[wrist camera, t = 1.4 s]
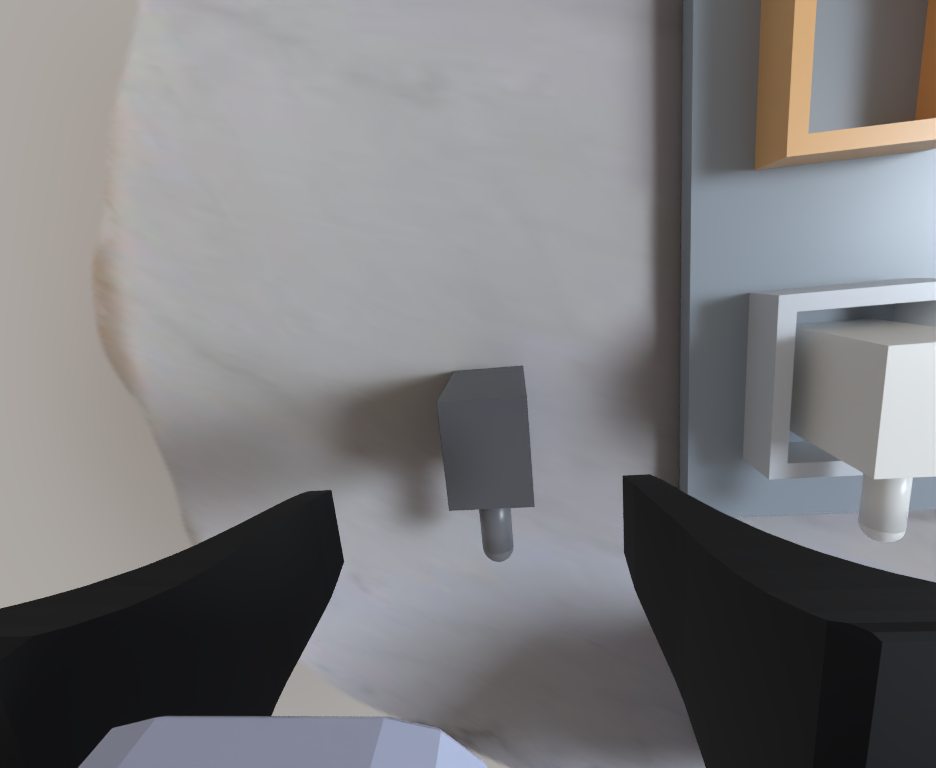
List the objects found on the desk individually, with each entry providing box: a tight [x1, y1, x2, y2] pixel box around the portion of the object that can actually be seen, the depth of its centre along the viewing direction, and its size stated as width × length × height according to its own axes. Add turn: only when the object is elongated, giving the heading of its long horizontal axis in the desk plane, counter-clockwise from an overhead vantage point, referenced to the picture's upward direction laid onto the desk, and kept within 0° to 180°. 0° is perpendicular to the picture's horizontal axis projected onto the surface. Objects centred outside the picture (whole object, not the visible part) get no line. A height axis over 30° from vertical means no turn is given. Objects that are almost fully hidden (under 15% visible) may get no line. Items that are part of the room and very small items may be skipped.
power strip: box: [679, 0, 936, 543], centre depth 15 cm, size 24×10×6 cm, turn 5°
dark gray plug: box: [437, 366, 534, 562], centre depth 19 cm, size 7×3×5 cm, turn 6°
